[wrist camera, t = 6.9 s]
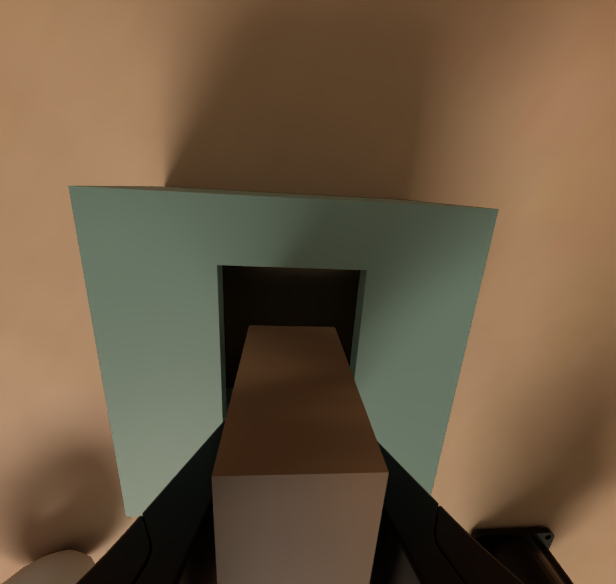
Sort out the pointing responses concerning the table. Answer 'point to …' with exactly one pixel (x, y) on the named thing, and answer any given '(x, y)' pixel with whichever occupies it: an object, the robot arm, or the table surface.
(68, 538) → the table surface
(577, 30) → the table surface
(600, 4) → the table surface
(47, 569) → the donut
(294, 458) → the rectangular block
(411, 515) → the robot arm
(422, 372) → the box
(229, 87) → the table surface
